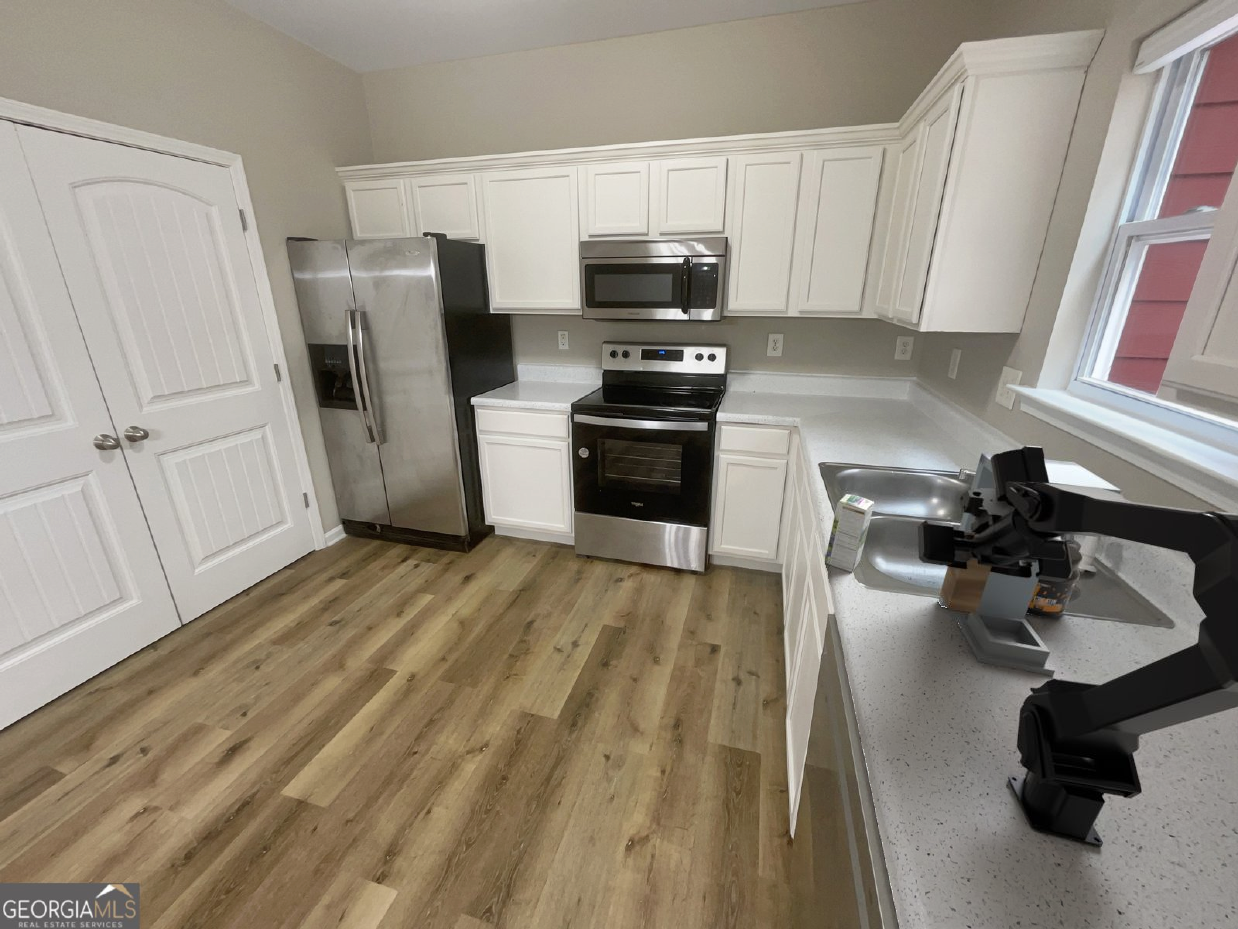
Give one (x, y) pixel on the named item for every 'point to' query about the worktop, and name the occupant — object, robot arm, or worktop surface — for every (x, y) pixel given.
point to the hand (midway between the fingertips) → (965, 564)
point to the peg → (965, 585)
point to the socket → (1006, 642)
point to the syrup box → (849, 532)
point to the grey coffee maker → (1017, 592)
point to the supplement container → (1055, 592)
